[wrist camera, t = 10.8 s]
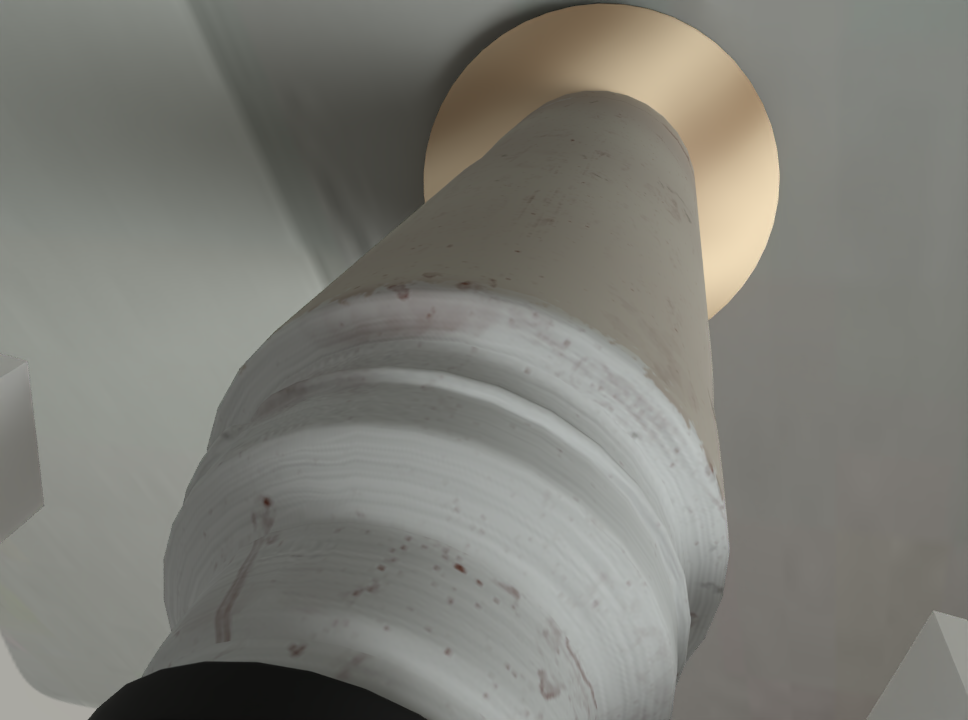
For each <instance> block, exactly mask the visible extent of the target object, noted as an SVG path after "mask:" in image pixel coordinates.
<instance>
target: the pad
mask: <svg viewBox="0 0 968 720" xmlns="http://www.w3.org/2000/svg"><path fill="white" fill-rule="evenodd" d="M581 91H610V92H614V93H619V94H623V95H628V96H630V97H632V98H634V99H637V100H639V101H641V102H643V103H645V104H647V105H649V106H650V107H651V108H653V109H654V110H655V111H657V112H658V113H659V114H661V115H662V116H663V117H664V118H665V119H666V120H667V121H668V122H669V123H670V124H671V126H672V127H673V128H674V129H675V130H676V131H677V132H678V134H679V136H680V138H681V140H682V141H683V143H684V145H685V147H686V148H687V150H688V153H689V156H690V160H691V163H692V166H693V169H694V176H695V186H696V196H697V207H698V217H699V228H700V238H701V249H702V259H703V270H704V281H705V291H706V302H707V312H708V320H709V319H710V318H712V317H713V316H714V315H715V314H716V313H717V312H718V311H719V310H721V309H722V308H723V307H724V306H725V305H726V304H727V303H728V302H729V301H730V300H731V299H732V298H733V297H734V295H735V294H736V293H737V292H738V291H739V290H740V289H741V287H742V286H743V285H744V283H745V282H746V280H747V279H748V277H749V276H750V274H751V273H752V271H753V270H754V268H755V267H756V265H757V263H758V261H759V259H760V257H761V255H762V253H763V251H764V249H765V247H766V244H767V241H768V238H769V236H770V233H771V230H772V227H773V224H774V219H775V214H776V208H777V203H778V194H779V164H778V153H777V147H776V143H775V139H774V134H773V130H772V126H771V124H770V121H769V119H768V116H767V113H766V111H765V108H764V106H763V103H762V102H761V100H760V98H759V96H758V95H757V93H756V91H755V89H754V88H753V86H752V84H751V82H750V81H749V79H748V78H747V77H746V75H745V74H744V73H743V72H742V70H741V69H740V68H739V67H738V65H737V64H736V63H735V61H734V60H733V59H732V58H731V57H730V56H729V55H728V54H727V53H726V52H725V51H724V50H723V49H722V48H721V47H719V46H718V45H717V44H716V43H715V42H714V41H713V40H711V39H710V38H708V37H707V36H705V35H704V34H703V33H701V32H700V31H698V30H697V29H696V28H694V27H692V26H690V25H688V24H686V23H684V22H682V21H680V20H678V19H676V18H674V17H672V16H669V15H666V14H663V13H660V12H657V11H654V10H651V9H648V8H643V7H637V6H632V5H626V4H605V3H597V4H588V5H579V6H572V7H568V8H565V9H561V10H557V11H553V12H549V13H546V14H543V15H541V16H538V17H536V18H533V19H531V20H528V21H526V22H524V23H522V24H520V25H518V26H517V27H515V28H513V29H512V30H510V31H508V32H506V33H505V34H503V35H501V36H500V37H499V38H498V39H496V40H495V41H494V42H492V43H491V44H490V45H489V46H487V47H486V48H485V49H483V50H482V51H481V52H480V53H479V54H478V56H477V57H476V58H475V59H474V60H473V61H472V62H471V63H470V64H469V65H468V66H467V67H466V68H465V69H464V71H463V72H462V73H461V75H460V76H459V77H458V79H457V80H456V81H455V83H454V84H453V85H452V87H451V89H450V91H449V92H448V94H447V96H446V98H445V99H444V101H443V103H442V105H441V107H440V109H439V112H438V114H437V117H436V119H435V122H434V124H433V127H432V130H431V134H430V138H429V142H428V146H427V150H426V158H425V166H424V198H425V203H426V202H427V201H428V200H429V199H430V198H432V197H433V196H434V195H435V194H436V193H438V192H439V191H440V190H441V189H442V188H443V187H445V186H446V185H447V184H448V183H449V182H450V181H452V180H453V179H454V178H455V177H456V176H457V175H459V174H460V173H461V172H462V171H463V170H465V169H466V168H467V167H469V166H470V165H472V164H473V163H475V162H476V161H478V160H479V159H481V158H482V157H483V156H484V155H485V154H486V153H487V152H488V151H489V150H490V149H491V148H492V147H493V146H494V145H495V144H496V143H497V142H498V141H499V140H500V139H501V138H502V137H503V136H504V135H505V134H507V133H508V132H509V131H510V130H511V129H512V128H514V127H515V126H516V125H517V124H518V123H519V122H521V121H522V120H523V119H524V118H525V117H526V116H528V115H529V114H530V113H532V112H533V111H535V110H536V109H538V108H539V107H541V106H542V105H544V104H545V103H547V102H549V101H551V100H554V99H556V98H559V97H561V96H563V95H566V94H571V93H576V92H581Z"/></svg>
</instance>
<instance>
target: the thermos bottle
mask: <svg viewBox="0 0 968 720" xmlns="http://www.w3.org/2000/svg"><path fill="white" fill-rule="evenodd" d="M729 547H730V546H729V534H728V524H727V513H726V503H725V493H724V484H723V474H722V464H721V454H720V446H719V438H718V431H717V425H716V419H715V413H714V403H713V369H712V355H711V344H710V333H709V323H708V312H707V302H706V291H705V281H704V270H703V259H702V249H701V238H700V228H699V217H698V207H697V196H696V186H695V176H694V169H693V166H692V163H691V160H690V156H689V153H688V150H687V148H686V147H685V145H684V143H683V141H682V140H681V138H680V136H679V134H678V132H677V131H676V130H675V129H674V128H673V127H672V126H671V124H670V123H669V122H668V121H667V120H666V119H665V118H664V117H663V116H662V115H661V114H659V113H658V112H657V111H655V110H654V109H653V108H651V107H650V106H649V105H647V104H645V103H643V102H641V101H639V100H637V99H634V98H632V97H630V96H628V95H623V94H619V93H614V92H610V91H581V92H576V93H571V94H566V95H563V96H561V97H559V98H556V99H554V100H551V101H549V102H547V103H545V104H544V105H542V106H541V107H539V108H538V109H536V110H535V111H533V112H532V113H530V114H529V115H528V116H526V117H525V118H524V119H523V120H522V121H521V122H519V123H518V124H517V125H516V126H515V127H514V128H512V129H511V130H510V131H509V132H508V133H507V134H505V135H504V136H503V137H502V138H501V139H500V140H499V141H498V142H497V143H496V144H495V145H494V146H493V147H492V148H491V149H490V150H489V151H488V152H487V153H486V154H485V155H484V156H483V157H482V158H481V159H479V160H478V161H476V162H475V163H473V164H472V165H470V166H469V167H467V168H466V169H465V170H463V171H462V172H461V173H460V174H459V175H457V176H456V177H455V178H454V179H453V180H452V181H450V182H449V183H448V184H447V185H446V186H445V187H443V188H442V189H441V190H440V191H439V192H438V193H436V194H435V195H434V196H433V197H432V198H430V199H429V200H428V201H427V202H426V203H425V204H423V205H422V206H421V207H420V208H419V209H418V210H416V211H415V212H414V213H413V214H412V215H411V216H409V217H408V218H407V219H406V220H405V221H404V222H402V223H401V224H400V225H399V226H398V227H397V228H395V229H394V230H393V231H392V232H391V233H390V234H388V235H387V236H386V237H385V238H384V239H383V240H381V241H380V242H379V243H378V244H377V245H375V246H374V247H373V248H372V249H371V250H370V251H368V252H367V253H366V254H365V255H364V256H363V257H361V258H360V259H359V260H358V261H357V262H356V263H354V264H353V265H352V266H351V267H350V268H349V269H347V270H346V271H345V272H344V273H343V274H342V275H340V276H339V277H338V278H337V279H336V280H335V281H333V282H332V283H331V284H330V285H329V286H328V287H326V288H325V289H324V290H323V291H322V292H321V293H319V294H318V295H317V296H316V297H315V298H313V299H312V300H311V301H310V302H309V303H308V304H306V305H305V306H304V307H303V308H302V309H301V310H299V311H298V312H297V313H296V314H295V315H294V316H292V317H291V318H290V319H289V320H288V321H287V322H285V323H284V324H283V325H282V326H281V327H280V328H278V329H277V330H276V331H275V332H274V333H273V334H272V335H271V336H270V337H269V338H268V339H267V340H266V341H265V342H264V343H263V344H262V346H261V347H260V348H259V349H258V350H257V351H256V352H255V353H254V354H253V355H252V356H251V357H250V358H249V359H248V360H247V361H246V362H245V364H244V365H243V366H242V367H241V368H240V369H239V371H238V373H237V374H236V376H235V378H234V380H233V382H232V383H231V385H230V387H229V389H228V391H227V392H226V394H225V396H224V398H223V400H222V401H221V403H220V405H219V407H218V409H217V413H216V417H215V420H214V424H213V428H212V432H211V435H210V439H209V443H208V447H207V453H206V454H205V456H204V457H203V458H202V460H201V461H200V463H199V465H198V467H197V469H196V471H195V473H194V475H193V477H192V479H191V481H190V483H189V485H188V487H187V490H186V494H185V498H184V502H183V506H182V508H181V510H180V511H179V513H178V515H177V517H176V518H175V520H174V522H173V524H172V528H171V532H170V536H169V540H168V544H167V548H166V552H165V556H164V603H165V607H166V611H167V615H168V620H169V624H170V628H171V633H170V634H169V636H168V637H167V638H166V640H165V641H164V642H163V644H162V645H161V646H160V648H159V649H158V651H157V653H156V654H155V656H154V657H153V659H152V660H151V662H150V664H149V665H148V667H147V668H146V670H145V671H144V674H143V676H142V678H140V679H137V680H135V681H133V682H130V683H128V684H126V685H125V686H124V687H122V688H121V689H120V690H119V691H118V692H116V693H115V694H114V695H113V696H112V697H110V698H109V699H108V700H107V701H106V702H104V703H103V704H102V705H101V706H100V707H99V708H97V709H96V711H95V712H94V713H93V714H92V716H91V717H90V718H89V719H88V720H670V718H671V715H672V709H673V701H674V693H675V687H676V685H677V682H678V680H679V678H680V675H681V673H682V670H683V668H684V665H685V663H686V662H687V661H688V659H689V658H690V657H691V655H692V654H693V653H694V652H695V650H696V649H697V648H698V646H699V645H700V644H701V642H702V641H703V640H704V639H705V637H706V634H707V632H708V630H709V627H710V625H711V623H712V620H713V618H714V616H715V613H716V611H717V609H718V606H719V604H720V602H721V599H722V596H723V591H724V584H725V578H726V571H727V564H728V557H729Z"/></svg>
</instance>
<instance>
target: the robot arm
mask: <svg viewBox="0 0 968 720" xmlns="http://www.w3.org/2000/svg"><path fill="white" fill-rule="evenodd" d="M43 506H44V499H43V490H42V481H41V472H40V464H39V455H38V446H37V438H36V429H35V420H34V411H33V403H32V394H31V385H30V377H29V368H28V361H26V360H23V359H19V358H16V357H12V356H8V355H5V354H1V353H0V543H1V542H3V541H4V540H5V539H6V538H7V537H8V536H10V535H11V534H12V533H13V532H14V531H15V530H17V529H18V528H19V527H20V526H21V525H22V524H24V523H25V522H26V521H27V520H28V519H29V518H31V517H32V516H33V515H34V514H35V513H36V512H38V511H39V510H40V509H41V508H42V507H43ZM866 720H968V620H966V619H962V618H958V617H955V616H951V615H947V614H944V613H940V612H937V611H933V612H932V613H931V615H930V617H929V618H928V620H927V621H926V623H925V625H924V626H923V628H922V630H921V631H920V633H919V634H918V636H917V638H916V639H915V641H914V643H913V644H912V646H911V648H910V649H909V651H908V652H907V654H906V656H905V657H904V659H903V661H902V662H901V664H900V665H899V667H898V669H897V670H896V672H895V674H894V675H893V677H892V678H891V680H890V682H889V683H888V685H887V687H886V688H885V690H884V691H883V693H882V695H881V696H880V698H879V700H878V701H877V703H876V705H875V706H874V708H873V709H872V711H871V713H870V714H869V716H868V718H867V719H866Z"/></svg>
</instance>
